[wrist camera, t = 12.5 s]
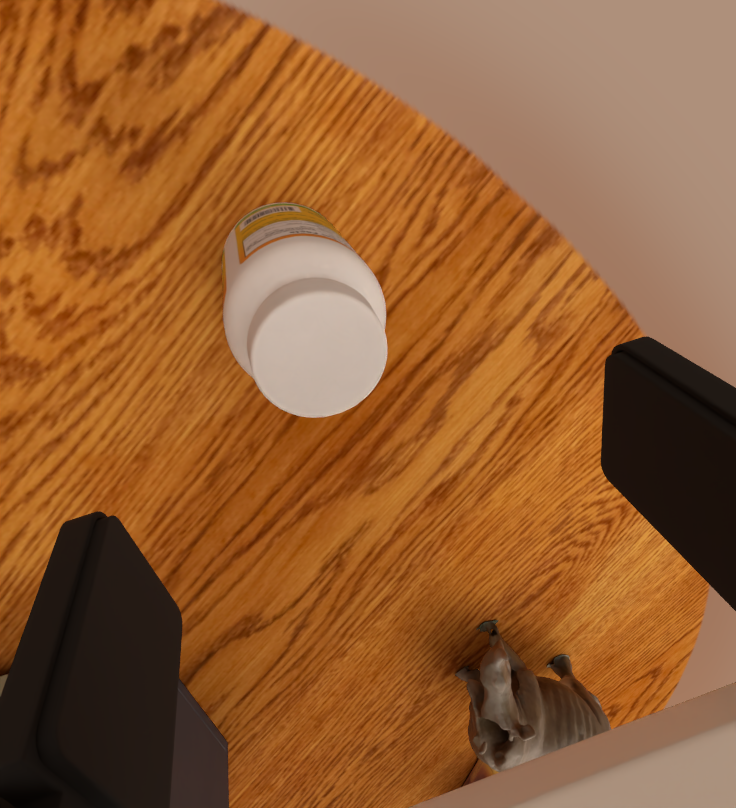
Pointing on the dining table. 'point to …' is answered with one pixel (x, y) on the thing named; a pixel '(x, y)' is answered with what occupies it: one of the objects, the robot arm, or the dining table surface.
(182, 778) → the cabinet
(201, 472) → the dining table surface
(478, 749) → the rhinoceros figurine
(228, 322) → the supplement bottle
